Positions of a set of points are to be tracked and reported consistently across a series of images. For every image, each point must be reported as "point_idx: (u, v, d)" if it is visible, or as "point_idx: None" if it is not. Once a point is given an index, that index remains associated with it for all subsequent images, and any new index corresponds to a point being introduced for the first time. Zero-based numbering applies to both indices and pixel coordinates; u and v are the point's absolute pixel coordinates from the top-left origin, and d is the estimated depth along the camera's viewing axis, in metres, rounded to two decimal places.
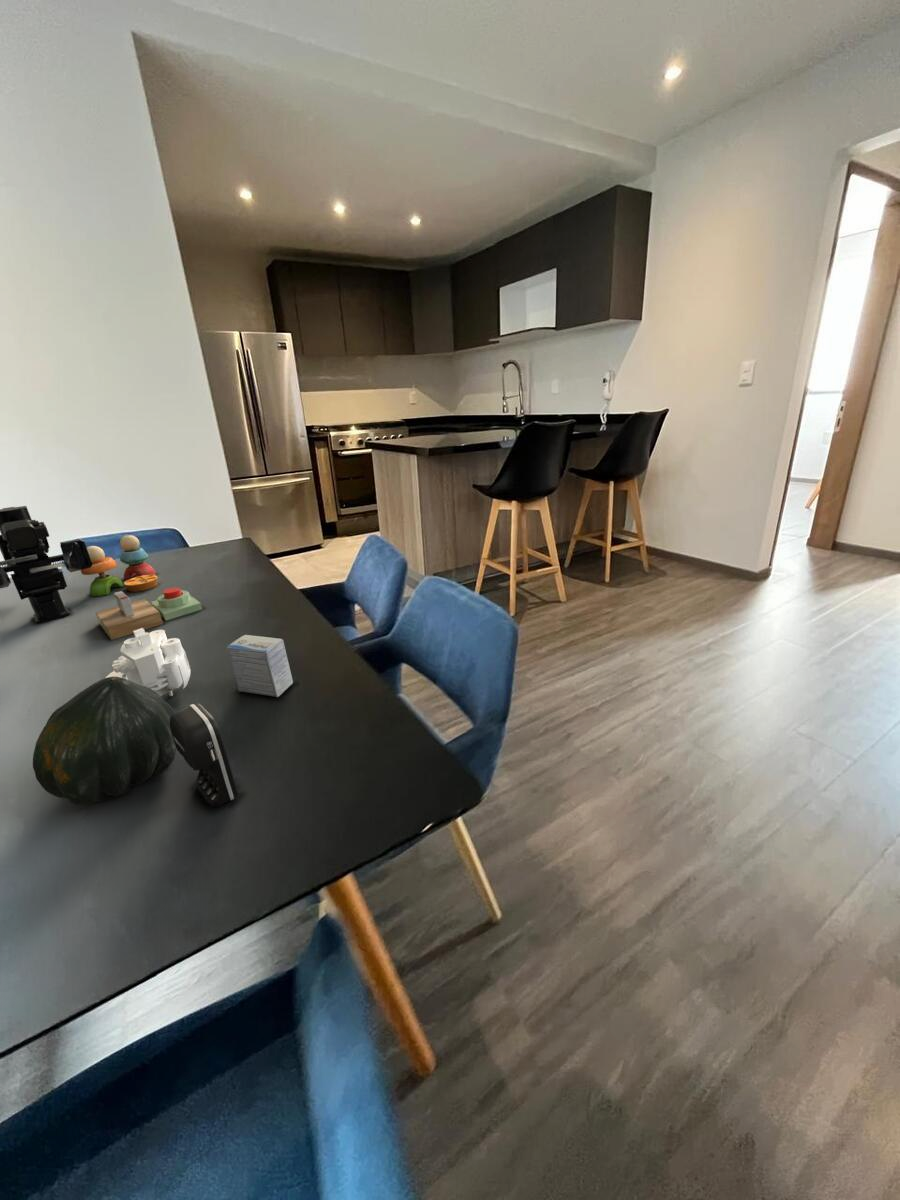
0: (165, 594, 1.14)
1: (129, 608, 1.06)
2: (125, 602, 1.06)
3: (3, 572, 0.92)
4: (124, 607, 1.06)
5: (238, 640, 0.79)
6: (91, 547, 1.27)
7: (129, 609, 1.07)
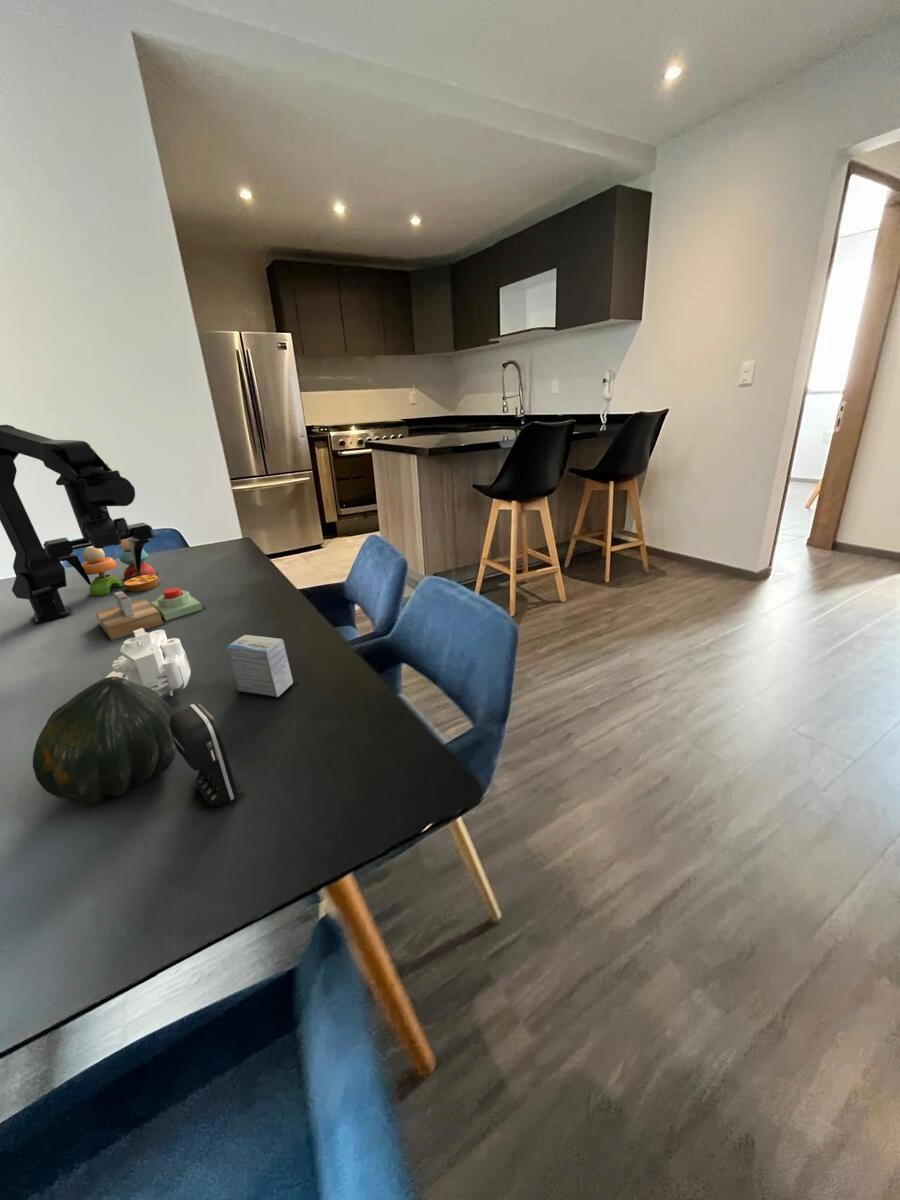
0: (165, 594, 1.14)
1: (129, 608, 1.06)
2: (125, 602, 1.06)
3: (85, 575, 1.01)
4: (124, 607, 1.06)
5: (238, 640, 0.79)
6: (91, 547, 1.27)
7: (129, 609, 1.07)
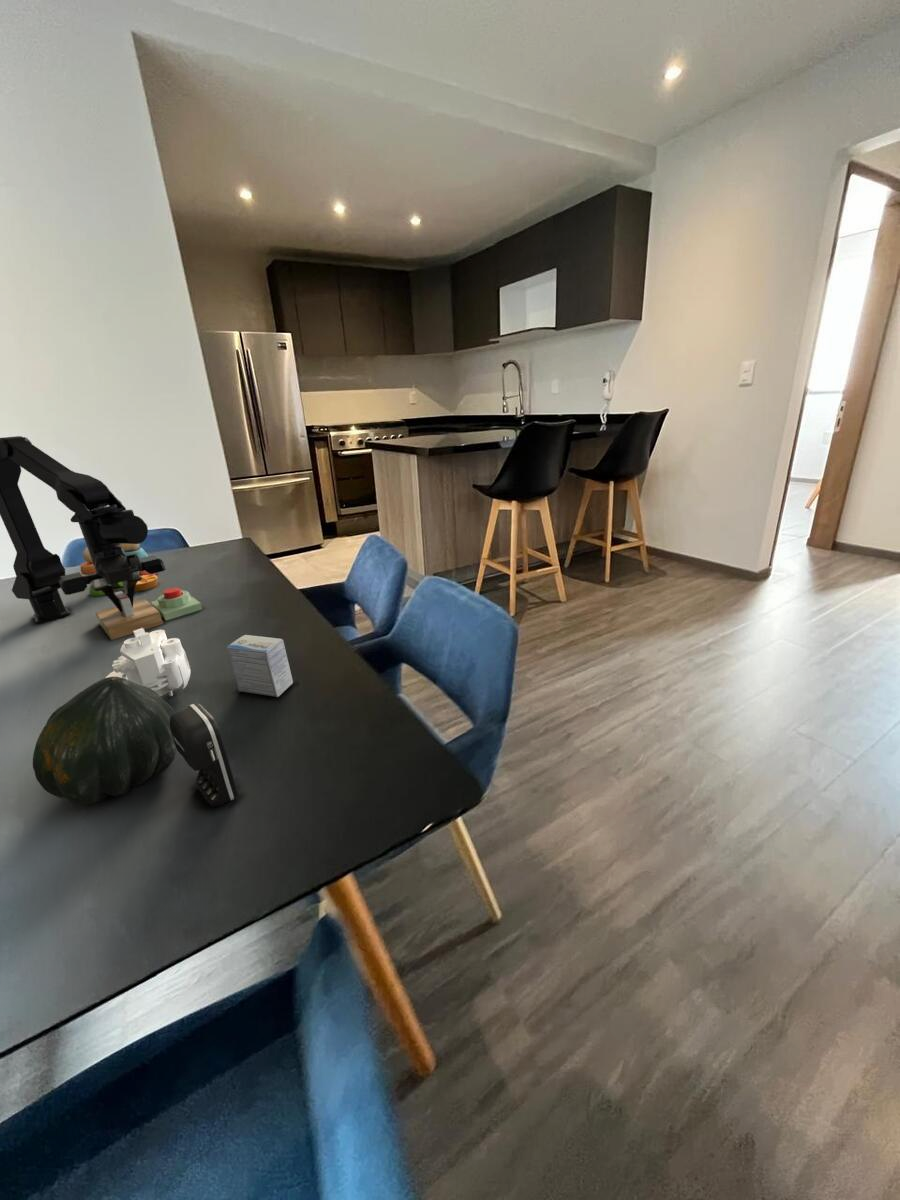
0: (165, 594, 1.14)
1: (129, 608, 1.06)
2: (125, 602, 1.06)
3: (117, 603, 1.07)
4: (124, 607, 1.06)
5: (238, 640, 0.79)
6: None
7: (129, 609, 1.07)
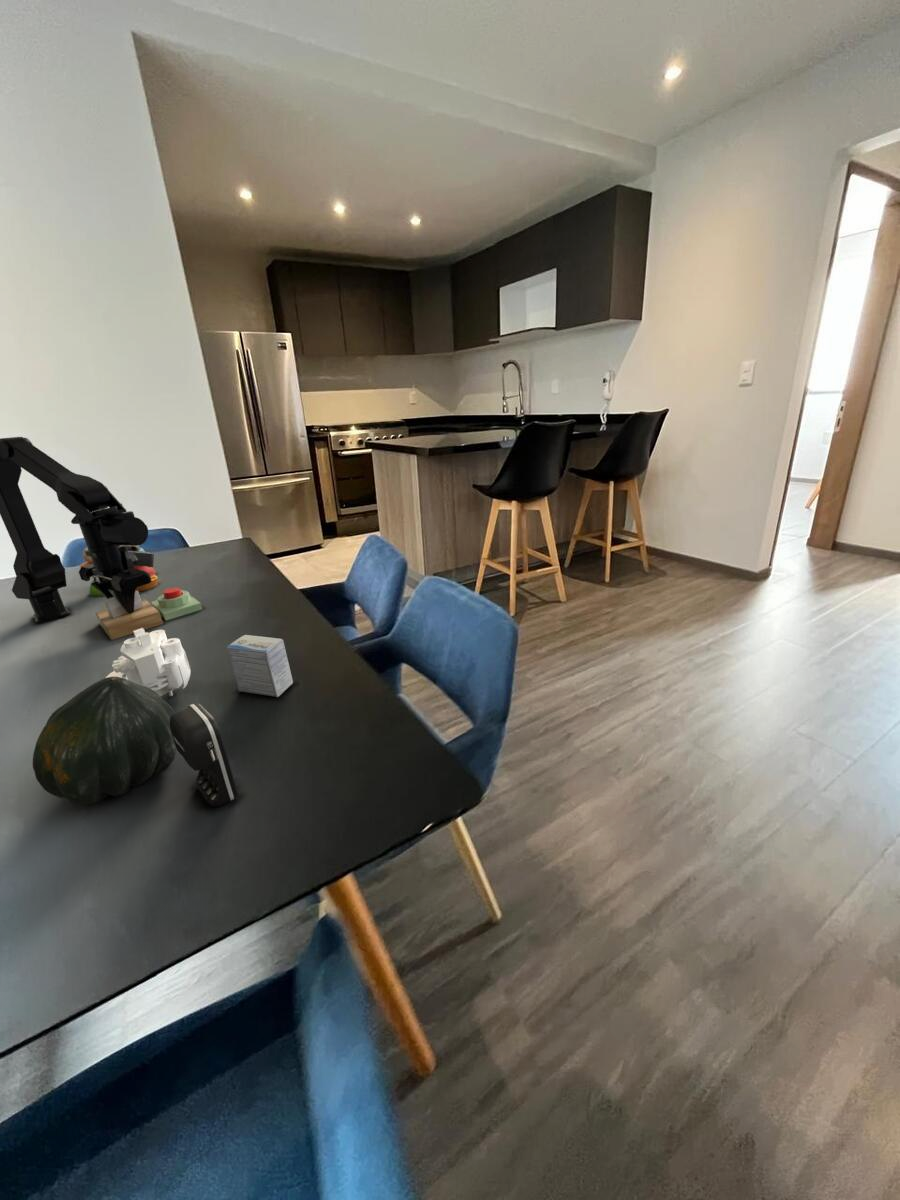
0: (165, 594, 1.14)
1: None
2: None
3: None
4: None
5: (238, 640, 0.79)
6: None
7: None
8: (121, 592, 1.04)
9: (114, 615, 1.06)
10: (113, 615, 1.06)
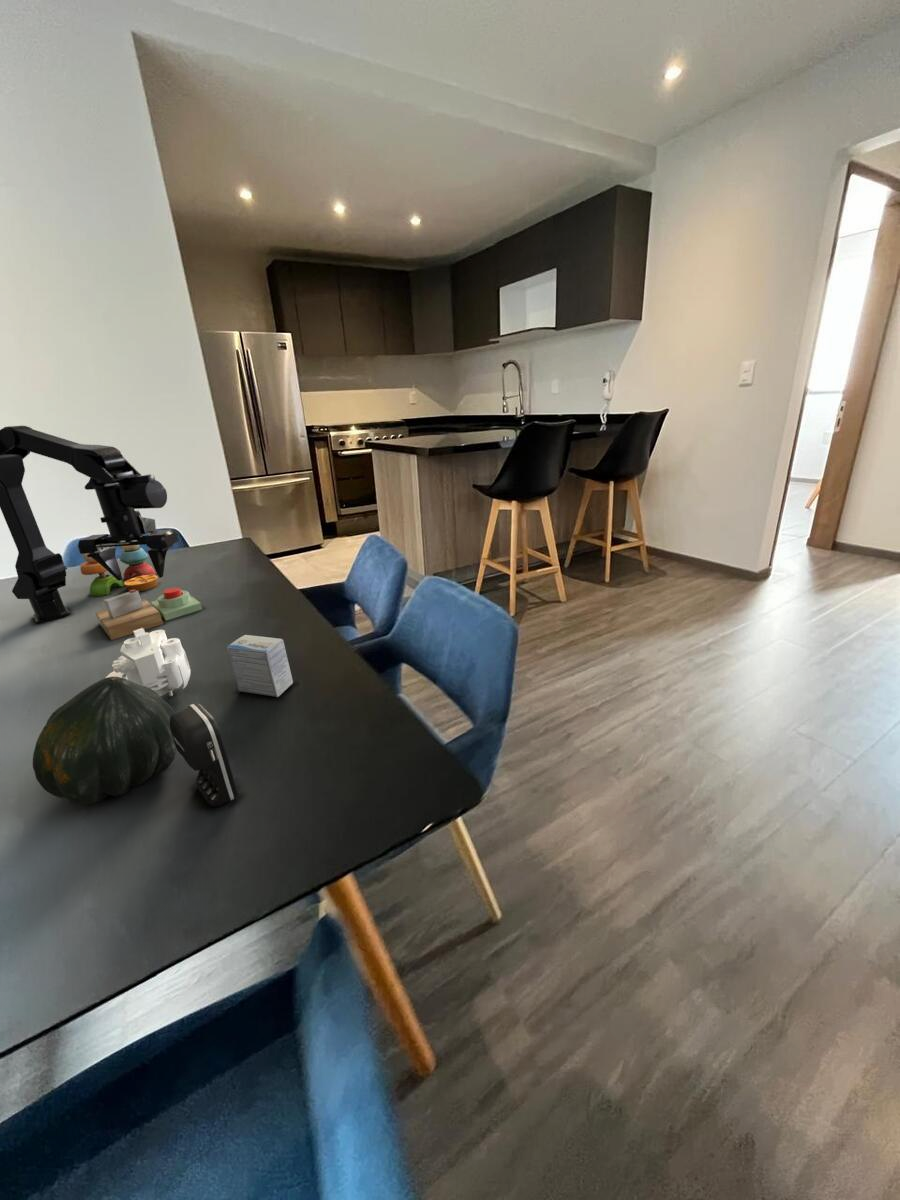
0: (165, 594, 1.14)
1: None
2: None
3: None
4: None
5: (238, 640, 0.79)
6: None
7: None
8: None
9: (114, 615, 1.06)
10: (113, 615, 1.06)
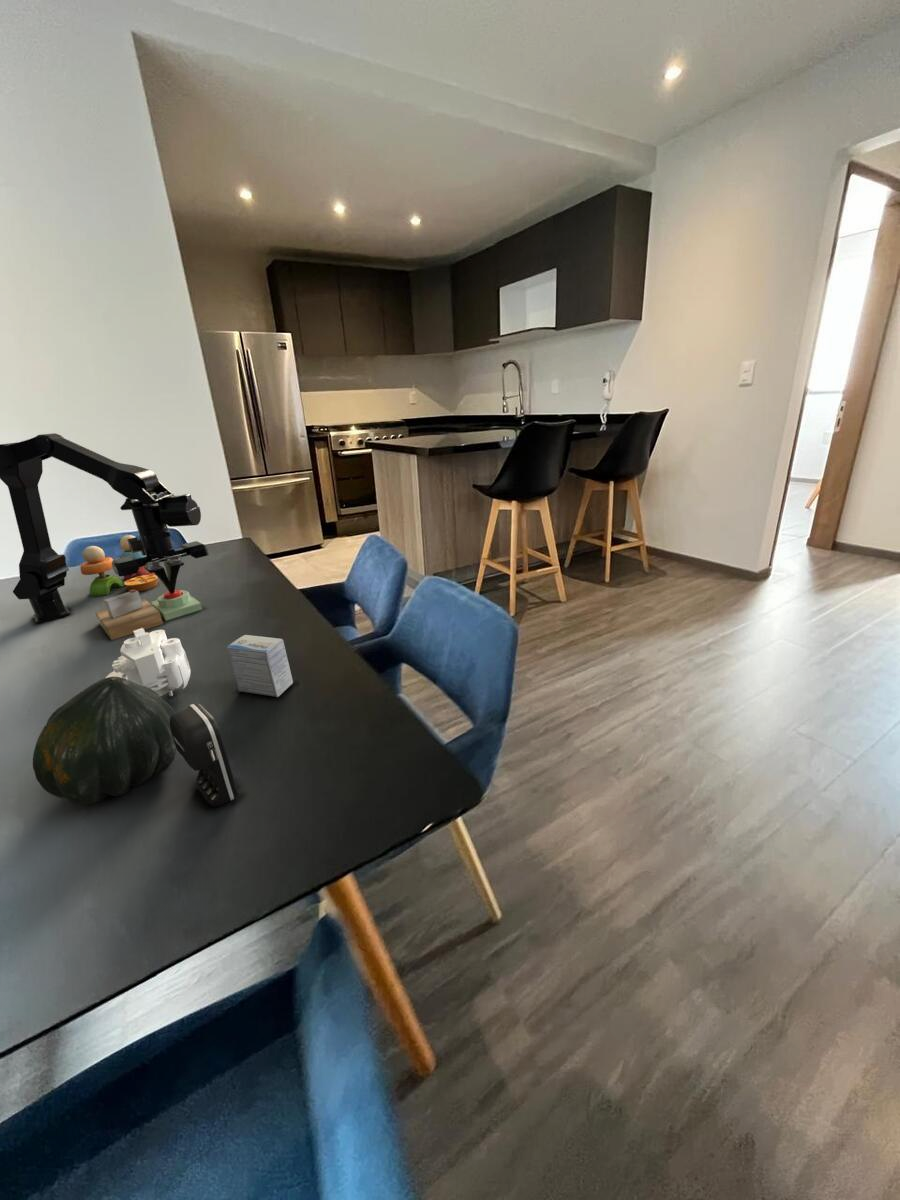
0: (166, 596, 1.14)
1: None
2: None
3: None
4: None
5: (238, 640, 0.79)
6: (91, 547, 1.27)
7: None
8: None
9: (114, 615, 1.06)
10: (113, 615, 1.06)
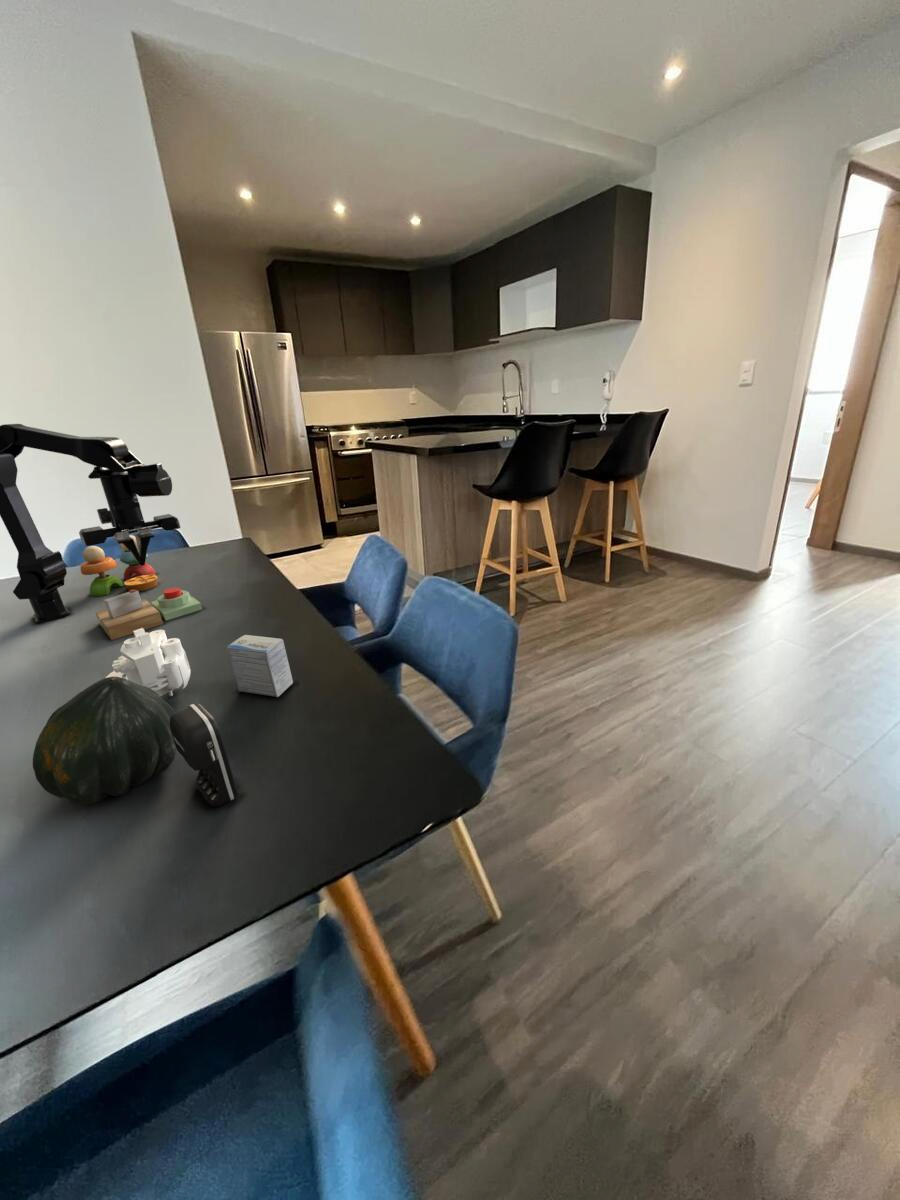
0: (165, 594, 1.14)
1: None
2: None
3: None
4: None
5: (238, 640, 0.79)
6: (91, 547, 1.27)
7: None
8: None
9: (114, 615, 1.06)
10: (113, 615, 1.06)
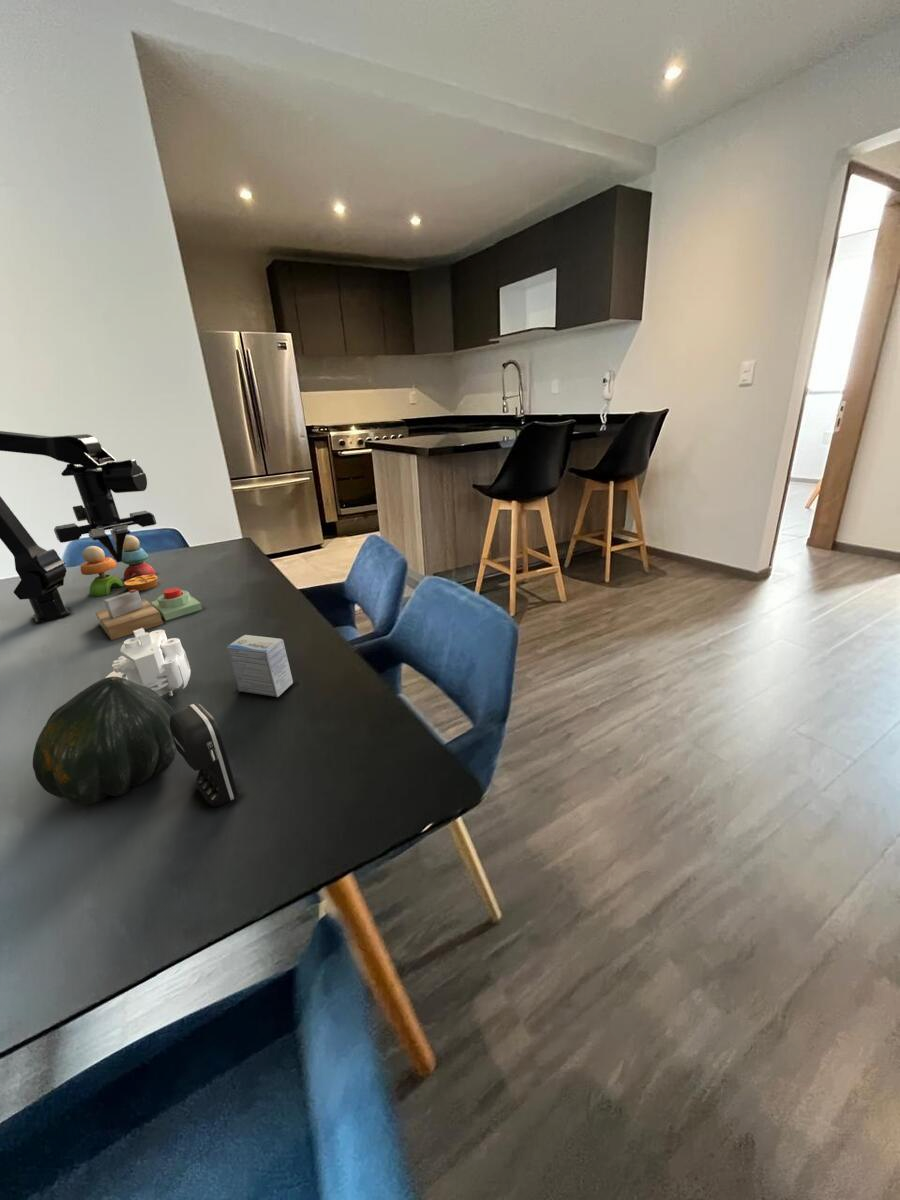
0: (165, 594, 1.14)
1: None
2: None
3: None
4: None
5: (238, 640, 0.79)
6: (91, 547, 1.27)
7: None
8: None
9: (114, 615, 1.06)
10: (113, 615, 1.06)
